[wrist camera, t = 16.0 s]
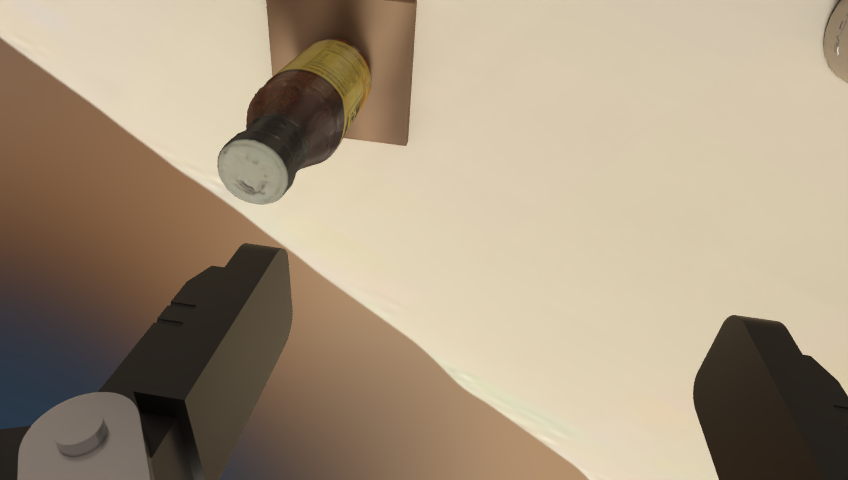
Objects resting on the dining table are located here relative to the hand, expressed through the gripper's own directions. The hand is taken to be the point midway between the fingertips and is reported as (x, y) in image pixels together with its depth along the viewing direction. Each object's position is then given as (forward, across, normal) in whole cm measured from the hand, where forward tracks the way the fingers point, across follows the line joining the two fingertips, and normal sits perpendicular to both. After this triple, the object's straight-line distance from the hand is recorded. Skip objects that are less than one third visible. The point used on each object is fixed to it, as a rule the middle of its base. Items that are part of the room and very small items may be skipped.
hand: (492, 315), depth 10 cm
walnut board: (+38, +13, +8) cm, 41 cm away
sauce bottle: (+37, +13, +8) cm, 40 cm away
